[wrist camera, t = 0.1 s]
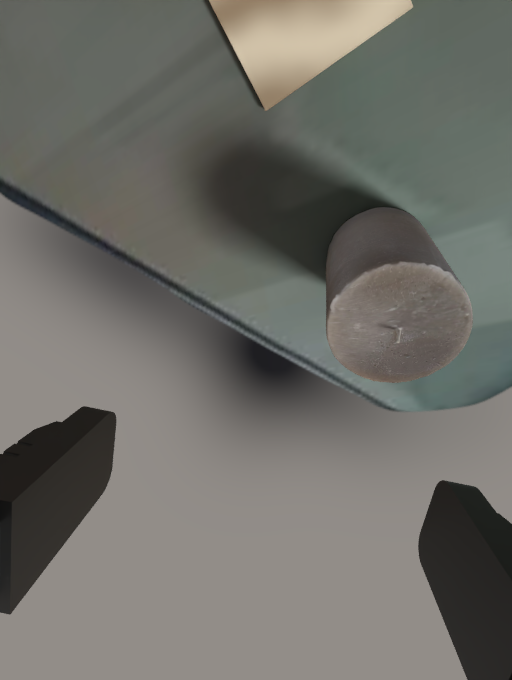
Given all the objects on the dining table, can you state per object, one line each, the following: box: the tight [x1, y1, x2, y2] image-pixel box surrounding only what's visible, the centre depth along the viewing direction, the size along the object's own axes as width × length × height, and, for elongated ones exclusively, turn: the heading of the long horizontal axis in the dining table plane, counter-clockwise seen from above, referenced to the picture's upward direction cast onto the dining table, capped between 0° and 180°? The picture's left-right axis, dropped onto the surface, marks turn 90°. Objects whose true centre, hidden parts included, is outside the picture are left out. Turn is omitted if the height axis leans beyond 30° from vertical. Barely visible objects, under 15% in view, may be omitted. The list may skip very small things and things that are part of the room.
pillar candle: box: [326, 207, 473, 383], centre depth 32 cm, size 10×10×15 cm
